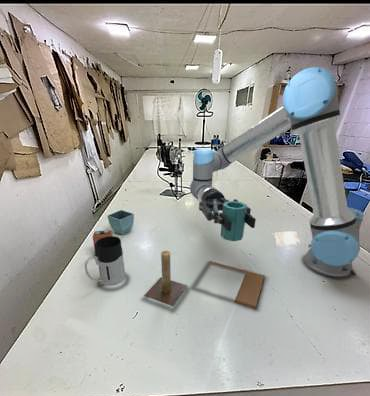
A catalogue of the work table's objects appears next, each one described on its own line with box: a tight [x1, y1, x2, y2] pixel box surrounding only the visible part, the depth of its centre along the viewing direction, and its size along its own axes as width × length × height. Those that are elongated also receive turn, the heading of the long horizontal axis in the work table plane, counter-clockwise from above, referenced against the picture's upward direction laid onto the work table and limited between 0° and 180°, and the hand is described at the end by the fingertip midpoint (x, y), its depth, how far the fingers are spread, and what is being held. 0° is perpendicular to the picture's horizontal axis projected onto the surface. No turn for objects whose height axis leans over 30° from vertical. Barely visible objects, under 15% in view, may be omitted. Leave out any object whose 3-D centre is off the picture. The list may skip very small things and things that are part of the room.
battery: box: [92, 229, 114, 257], centre depth 93 cm, size 4×7×10 cm, turn 100°
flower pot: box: [106, 209, 135, 236], centre depth 110 cm, size 9×9×9 cm
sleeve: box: [220, 200, 248, 242], centre depth 69 cm, size 6×6×10 cm
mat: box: [208, 260, 265, 310], centre depth 78 cm, size 20×16×1 cm
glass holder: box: [84, 235, 126, 286], centre depth 73 cm, size 9×14×15 cm, turn 155°
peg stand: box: [143, 250, 189, 308], centre depth 70 cm, size 10×10×15 cm
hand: (242, 224), depth 64 cm, fingers closed on sleeve, 6 cm apart
